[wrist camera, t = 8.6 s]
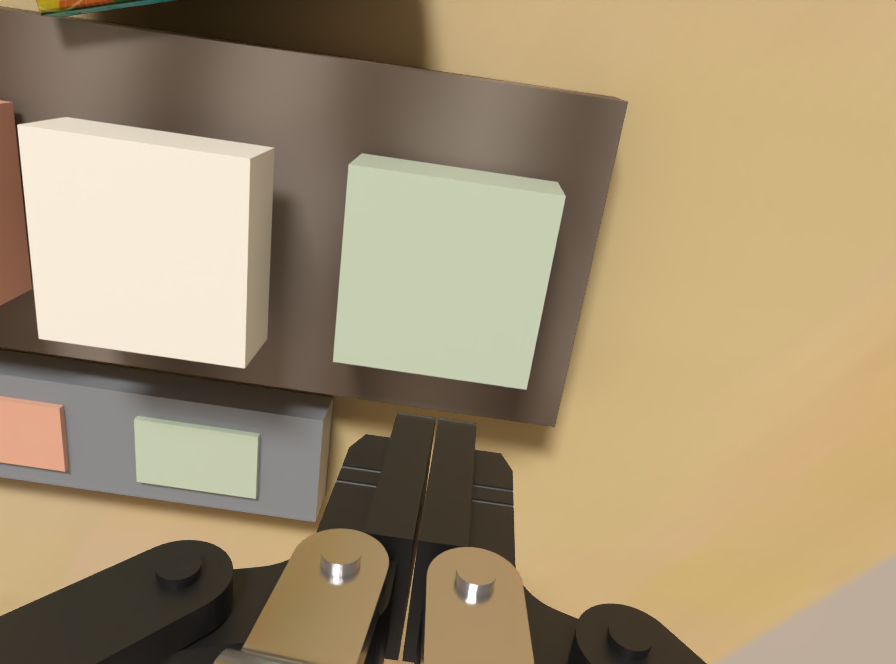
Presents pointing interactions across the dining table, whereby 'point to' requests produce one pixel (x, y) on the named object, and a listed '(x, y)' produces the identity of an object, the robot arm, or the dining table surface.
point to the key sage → (444, 269)
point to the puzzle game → (86, 6)
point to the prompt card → (163, 436)
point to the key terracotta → (11, 213)
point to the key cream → (148, 239)
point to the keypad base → (323, 180)
